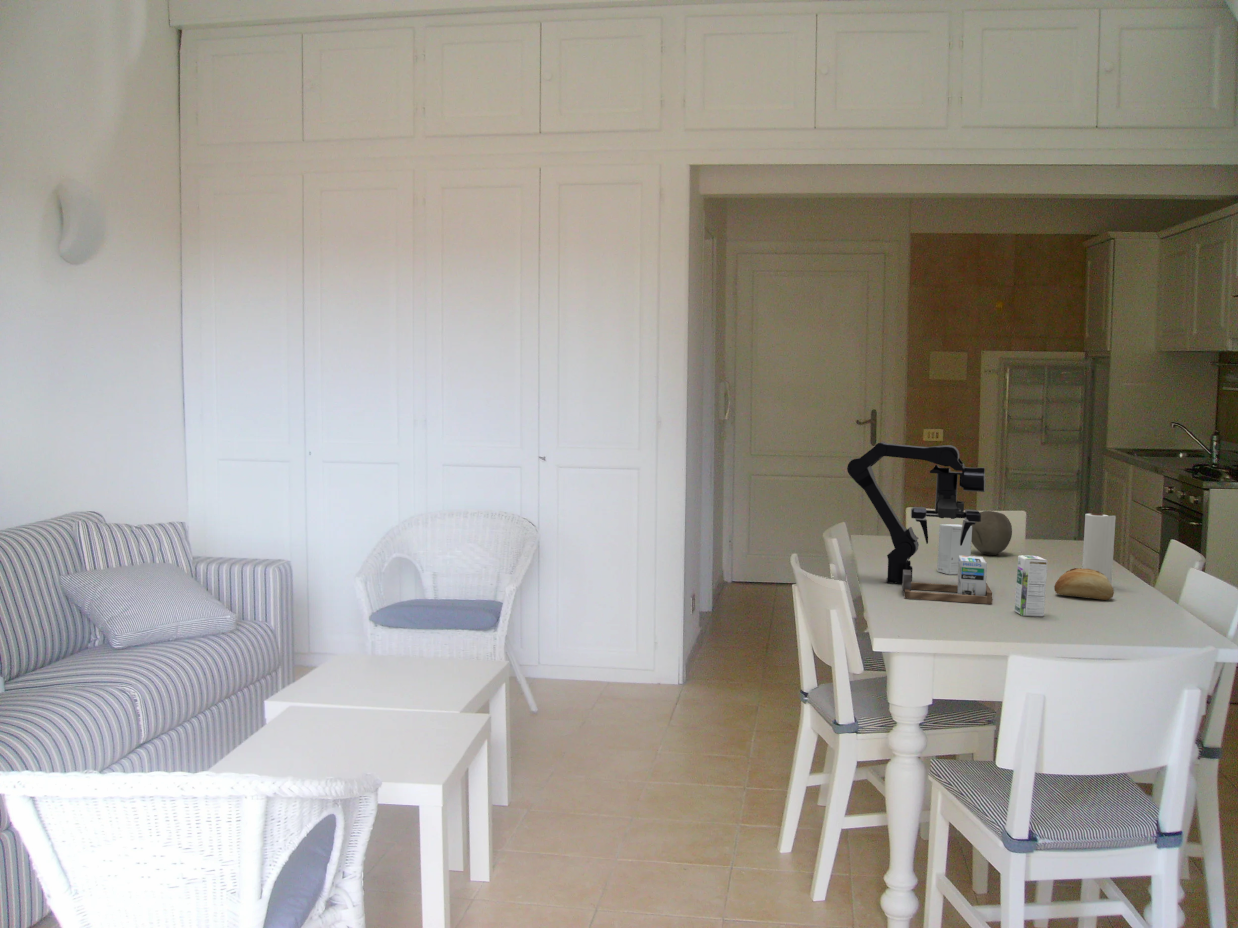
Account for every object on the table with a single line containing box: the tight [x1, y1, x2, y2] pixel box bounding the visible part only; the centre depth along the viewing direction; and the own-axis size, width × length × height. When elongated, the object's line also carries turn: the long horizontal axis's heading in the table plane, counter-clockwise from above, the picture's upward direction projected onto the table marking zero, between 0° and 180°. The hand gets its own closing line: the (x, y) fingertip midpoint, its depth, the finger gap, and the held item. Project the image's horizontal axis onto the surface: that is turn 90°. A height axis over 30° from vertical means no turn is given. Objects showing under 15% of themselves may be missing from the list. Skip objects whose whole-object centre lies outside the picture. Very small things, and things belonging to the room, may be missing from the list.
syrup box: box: [1014, 554, 1048, 617], centre depth 268 cm, size 6×6×14 cm
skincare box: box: [936, 523, 972, 576], centre depth 326 cm, size 8×6×15 cm
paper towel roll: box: [1081, 513, 1117, 586], centre depth 306 cm, size 7×6×21 cm
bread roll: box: [1053, 567, 1115, 601], centre depth 292 cm, size 10×15×8 cm, turn 72°
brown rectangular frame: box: [901, 570, 993, 605], centre depth 289 cm, size 22×15×6 cm
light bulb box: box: [956, 555, 988, 596], centre depth 287 cm, size 11×7×11 cm, turn 167°
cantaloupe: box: [971, 510, 1013, 556], centre depth 365 cm, size 14×14×15 cm
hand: (943, 544), depth 303 cm, fingers open, 9 cm apart
